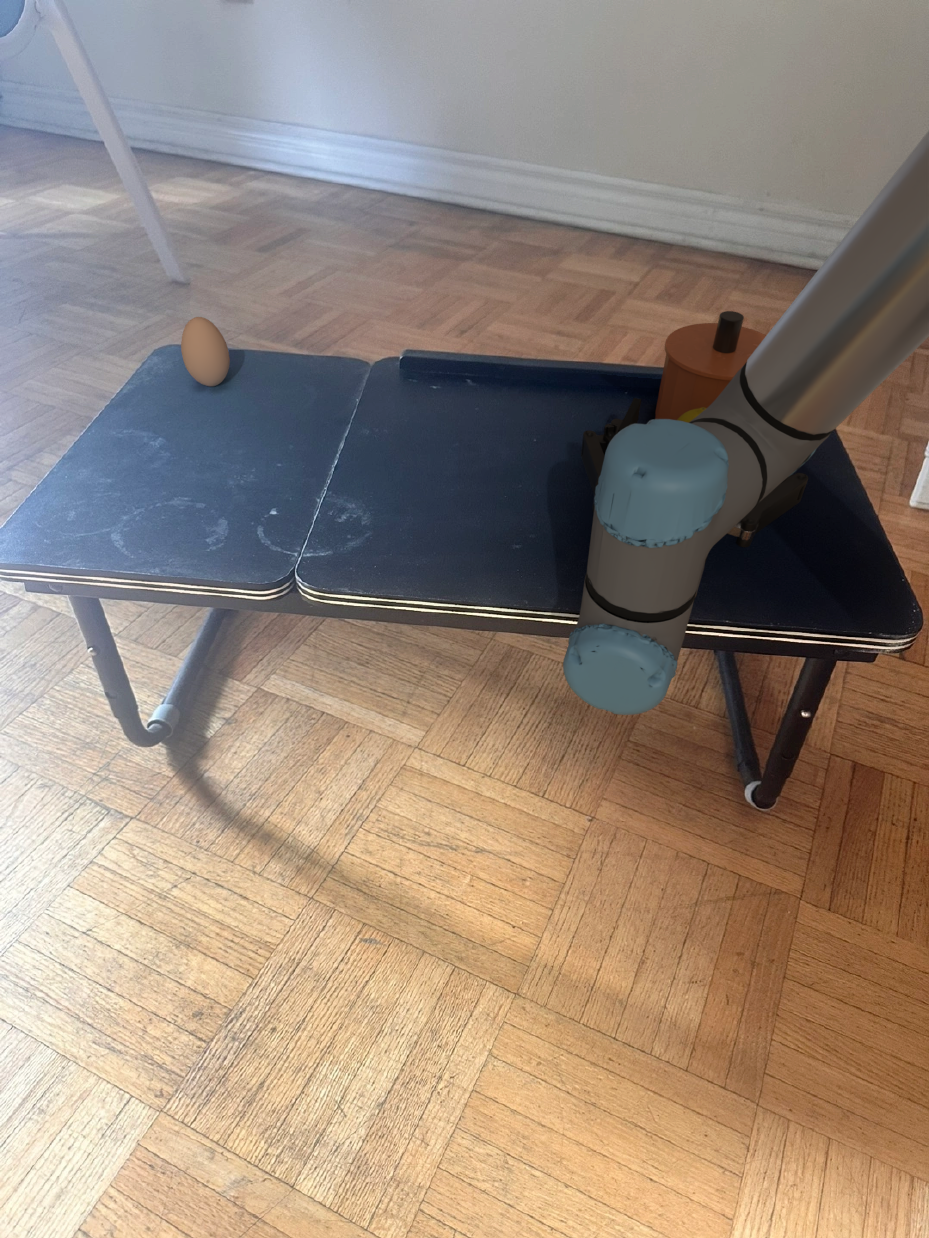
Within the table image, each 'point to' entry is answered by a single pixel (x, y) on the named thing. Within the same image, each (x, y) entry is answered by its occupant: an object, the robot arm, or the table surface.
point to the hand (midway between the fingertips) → (704, 423)
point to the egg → (205, 352)
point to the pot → (685, 391)
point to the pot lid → (713, 346)
